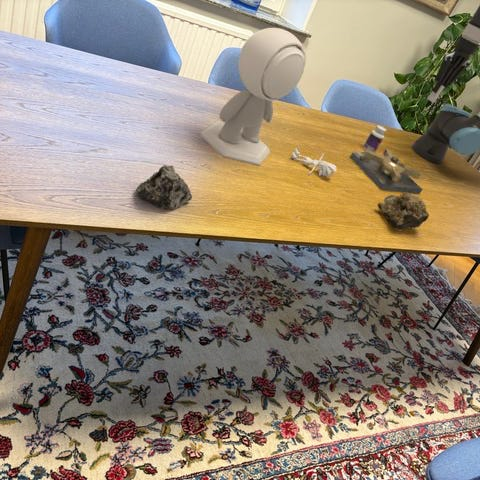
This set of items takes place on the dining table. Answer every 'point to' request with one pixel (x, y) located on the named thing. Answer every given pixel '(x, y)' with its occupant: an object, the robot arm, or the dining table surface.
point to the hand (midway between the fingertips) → (430, 100)
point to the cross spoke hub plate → (384, 176)
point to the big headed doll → (257, 94)
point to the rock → (165, 189)
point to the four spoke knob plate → (391, 165)
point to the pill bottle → (374, 139)
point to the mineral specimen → (404, 211)
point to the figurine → (316, 164)
